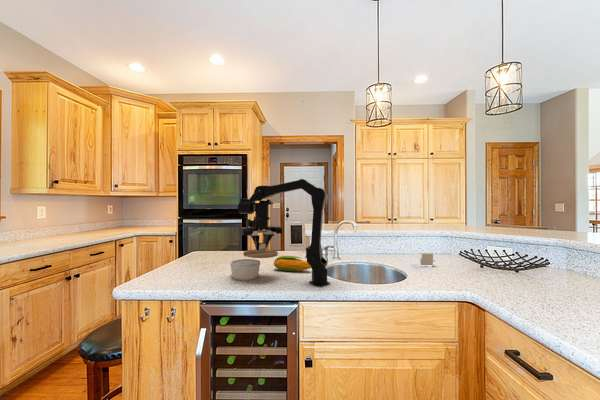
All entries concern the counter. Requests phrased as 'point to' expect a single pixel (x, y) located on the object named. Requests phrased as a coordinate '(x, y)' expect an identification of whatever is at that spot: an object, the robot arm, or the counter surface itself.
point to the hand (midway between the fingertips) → (260, 250)
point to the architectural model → (427, 259)
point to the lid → (260, 252)
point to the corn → (291, 263)
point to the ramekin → (245, 269)
